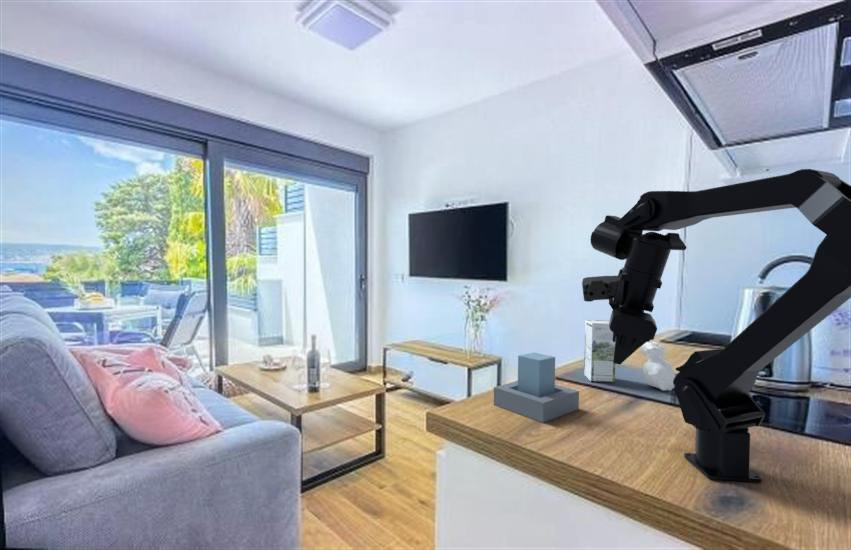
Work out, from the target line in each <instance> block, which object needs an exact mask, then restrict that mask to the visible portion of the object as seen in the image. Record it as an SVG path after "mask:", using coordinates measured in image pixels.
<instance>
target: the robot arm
mask: <svg viewBox="0 0 851 550" xmlns="http://www.w3.org/2000/svg"><path fill="white" fill-rule="evenodd" d="M795 208H796V209H797V210H798V211H799V212H800V213H801V214H802V215H803V216H804V217H805V218H806V219H807V220H808V221H809V222H810V224H811V225H812V226H814V227H815V228H816V229H818V230H819V231H821V232H822V233H823V234H826V235H825V236H824V238H823V239H822V241H820V243H819V244H818V246H817V247H816V250H815V253H814V255H813V258H812V260H811V262H810V266H809V268H808V270H807V271H806V272H805V274H803V275H802V276H801V277H800V278H799V279H798V280H796V282H795V283H794V284H793V285H791V286H790V287H789V288H788V289H787V290H786V291H784V293H783V294H781V295H780V297H778V298H777V299H776V300H775V301H774V302H773V303H772V304H771V305H769V306H768V307H767V308H766V309H765V310H764V311H763V312H762V313H760V315H759V316H758V317H756V318H755V319H754V320H753V321H752V322H751V323H750V324H749V325H748V326H747V327H746V328H744V329H743V330H742V331H741V332H740V333H739V334H738V335H737V336H736V337H735V338H733V339H732V340H731V341H730V342H729V343H728V344H727V345H726V346H725V347H724V348H717V349H715V348H714V349H704V350H695V351H693V353H691V354H690V355H689V356H688V358H687V359H686V361H685V362H684V363H683V364H682V365H680V366H678V367H675V371H677V374H675V378H674V380H673V384H674V388H673V389H674V390H673V391H674V393H675V397H676V399H677V400H678V404H679V407H680V411H681V413H682V418H683V420H684V422H685V423H686V424H688V425H691V426H693V427H694V428H695V444H694V446H695V447H694V448H695V449H694V450H695V453H690V452H685V453H684V454H683V455H684V456H683V457H684V458H685V460H687V461H689V463H691V464H692V465H693V466H694V467H695V468H696V469H697V470H699V471H700V472H701V473H702V474H703V475H704V476H705V477H706V478H708V479H711V480H716V481H717V480H720V481H737V482H751V483H752V482H753V483H754V482H755V483H762V482H763V478H762V476H760V475H758V474H757V473H756V472H755V471H753V470H752V469H750V463H751V462H750V461H751V459H750V458H751V457H750V455H751V433H750V432H749V430H750V429H749V428H753V427H760V426H761V424H762V423H763V421H764V419H765V417H766V412H765V411H764V409H763V408H762V407H761V406H760V405H759V404H758V403H757V402H756V401H755V399H754V398H753V397H752V396H751V394H750V392H751V391H752V389H753V388H754V386H755V383H756V381H757V377H758V374H759V373H760V372H761V371H762V369H764V368H765V367H766V366H768V365H769V364H770V363H771V362H773V360H775V359H776V358H777V357H779V356H780V355H781V354H782V353H784V352H785V351H786V350H788V348H790V347H792V346H793V345H794V343H796V342H797V341H799V340H800V339H801V338H803V336H805V335H806V334H807V333H809V332H810V331H811V330H812V329H813V328H815V327H816V326H818V325H819V324H820V323H822V322H823V321H824V320H825V319H826V318H827V317H829V316H830V315H831V314H833V313H834V312H835V311H836V310H838V309H839V308H840V307H841V306H842V305H844V304H845V303H846V302H848V300H850V299H851V184H849V183H848V182H846V181H844V180H842V179H841V178H840V177H839V176H838V175H836V174H835V173H832V172H828V171H822V170H818V169H812V168H801V169H797V170H795V171H794V172H790V173H788V174H781V175H776V176H770V177H765V178H760V179H754V180H750V181H749V180H748V181H743V182H739V183H733V184H728V185H722V186H718V187H712V188H708V189H707V188H706V189H702V190H695V191H693V190H692V191H691V190H689V191H688V190H687V191H684V190H683V191H682V190H650V191H647V192H644V193H643V194H641V195H640V196H639V199H638V200H637V202H636V204H634V206H632V207H631V208H630V209H629V210H628V211H627V212H626V213H625V214H624V215H623V216H622V217H619V216H616V215H605V218H604V221H602V222H601V223H599V224H598V225H597V226H596V227H595V228H594V230H593V231H592V232H591V235H590V245H591V247H592V248H593V249H594V250H595V251H598V252H600V253H603V254H605V255H608V256H610V257H612V258H614V259H617V260H620V261H624V260H625V263H624V266H623V267H622V266H621V267H622V268H620V269H619V271H618V274H617V275H602V276H588V277H584V278H582V282H581V284H582V295H583V301H584V302H587V303H588V302H594V301H603V300H608V304H609V307H610V308H611V309H612V311H611V314H610V318H609V320H610V322H609V328H610V330H611V331H612V332H613V342H615V349H614V359H613V362H614V363H615V365H616V364H617V365H619V366H620V365H622V364H623V363H624V362H625V361H626V360H627V359H628V358H629V357H631V356H632V355H633V353H636V351H638V349H641V348H642V346H643V345H644V344H645V343H646V342H649V343H650V341H654V340H655V339H654V338H655V336H656V334H657V331H658V326H657V323H656V321H655V319H654V318H653V316H652V314H651V313H653V310H654V307H655V306H654V303H653V302H654V300H655V297H656V295H657V291H658V289H659V290H660V289H661V287H662V285H663V282H662V277H663V274H664V271H665V268H666V265H667V262H668V259H669V256H670V253H671V252H672V251H685V250H686V249H687V245H686V244H685V243H684V241H683V240H682V239H681V236H680V233H676V232H667V233H666V234H663V233H659V232H660V231H664V230H667V231H676V230H680V229H684V228H688V227H692V226H694V225H697V224H698V223H701V222H703V221H704V220H709V219H711V218H713V219H714V218H719V217H721V218H722V217H727V216H735V215H736V216H737V215H744V214H745V215H746V214H753V213H754V214H755V213H761V212H770V211H776V210H777V211H779V210H785V209H795ZM644 231H645V233H643V232H644ZM645 311H646V312H645ZM648 312H649V313H648Z"/></svg>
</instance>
